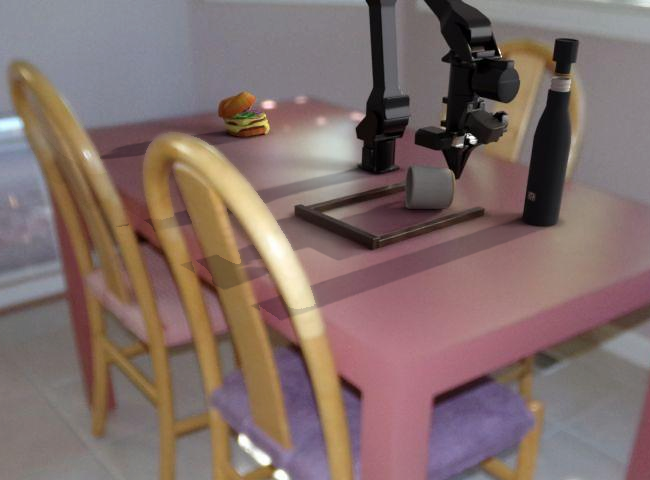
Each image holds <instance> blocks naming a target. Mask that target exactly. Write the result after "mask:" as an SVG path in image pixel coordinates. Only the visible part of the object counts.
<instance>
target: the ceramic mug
mask: <svg viewBox="0 0 650 480" xmlns="http://www.w3.org/2000/svg"><path fill="white" fill-rule="evenodd" d="M405 181H406V183H405V190H404V195H405V196H404V200H405V205H406V208H407V209H409V210H443V209H449V208H450V207H451V206H452V205H453V203H454V200H455V196H456V195H455V194H456V180H455V176H454V173H453V172H452V170H450V169H449V168H447V167H438V166H429V165H417V164H410V165H409V166H408V168H407V171H406V176H405Z"/></svg>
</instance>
